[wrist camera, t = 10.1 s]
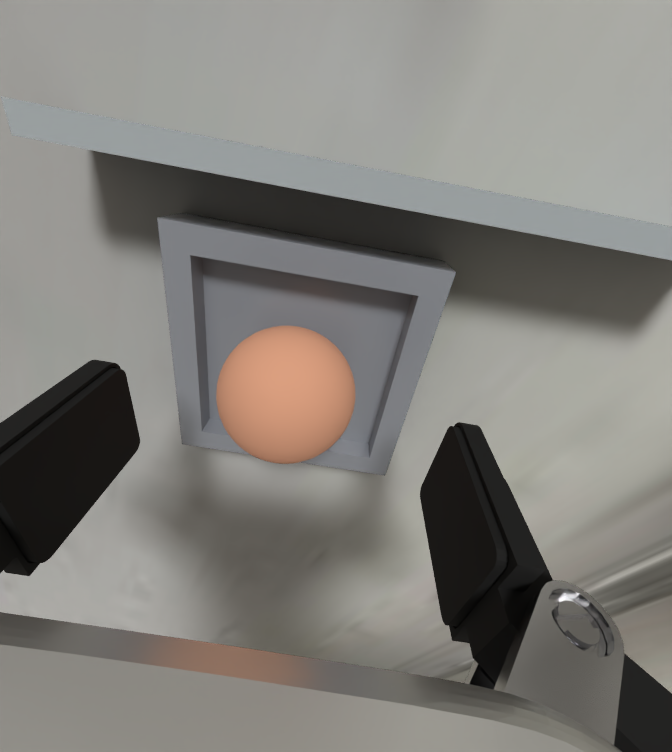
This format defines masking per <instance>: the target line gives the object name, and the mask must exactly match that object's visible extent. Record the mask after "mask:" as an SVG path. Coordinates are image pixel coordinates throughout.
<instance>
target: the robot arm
mask: <svg viewBox="0 0 672 752" xmlns="http://www.w3.org/2000/svg"><path fill="white" fill-rule="evenodd" d="M139 444H140V437H139V433H138V428H137V424H136V419H135V414H134V410H133V405H132V400H131V396H130V391H129V387H128V382H127V377H126V374H125V372H124V370H121V368H120V366H119V365H118V364H116V363H111V362H105V361H99V360H91V361H89V362H88V363H86V364H85V365H83V366H82V367H81V368H79V369H78V370H76V371H75V372H73V373H72V374H70V375H69V376H68V377H66V378H65V379H63V380H62V381H60V382H59V383H58V384H56V385H55V386H53V387H52V388H50V389H49V390H47V391H46V392H45V393H43V394H42V395H40V396H39V397H37V398H36V399H34V400H33V401H32V402H30V403H29V404H27V405H26V406H24V407H23V408H22V409H20V410H19V411H17V412H16V413H14V414H13V415H11V416H10V417H9V418H7V419H6V420H4V421H3V422H1V423H0V573H1V572H2V571H3V570H4V571H5V572H6V573H12V574H19V575H25V576H30V575H31V574H32V572H33V571H34V570H35V569H36V567H37V566H38V565H39V564H40V563H43V562H45V561H47V560H48V559H49V558H50V557H51V556H52V555H53V554H54V553H55V552H56V550H57V549H58V548H59V547H60V545H61V544H62V543H63V542H64V540H65V539H66V538H67V537H68V536H69V534H70V533H71V532H72V531H73V529H74V528H75V527H76V526H77V524H78V523H79V522H80V521H81V519H82V518H83V517H84V516H85V514H86V513H87V512H88V511H89V510H90V508H91V507H92V506H93V505H94V503H95V502H96V501H97V500H98V498H99V497H100V496H101V495H102V493H103V492H104V491H105V490H106V488H107V487H108V486H109V485H110V483H111V482H112V481H113V480H114V479H115V477H116V476H117V475H118V474H119V472H120V471H121V470H122V469H123V467H124V466H125V465H126V464H127V462H128V461H129V460H130V459H131V457H132V456H133V455H134V454H135V453H136V451H137V449H138V447H139ZM420 499H421V504H422V510H423V516H424V521H425V527H426V532H427V538H428V543H429V549H430V555H431V560H432V566H433V571H434V577H435V582H436V588H437V594H438V599H439V605H440V610H441V615H442V619H443V622H444V623H445V625H448V626H449V627H450V632H451V637H452V640H453V641H459V642H466V643H470V647H471V651H472V656H473V659H474V662H473V664H472V667H471V669H470V671H469V673H468V675H467V677H466V679H465V682H464V683H460V682H454V681H449V680H443V679H437V678H431V677H426V676H420V675H414V674H409V673H403V672H397V671H391V670H385V669H378V668H372V667H365V666H359V665H352V664H346V663H339V662H333V661H326V660H320V659H313V658H307V657H300V656H294V655H287V654H281V653H274V652H268V651H261V650H254V649H247V648H241V647H234V646H227V645H221V644H214V643H207V642H201V641H194V640H187V639H180V638H174V637H167V636H160V635H153V634H146V633H140V632H133V631H126V630H119V629H113V628H106V627H99V626H92V625H85V624H78V623H71V622H64V621H57V620H50V619H43V618H36V617H29V616H22V615H15V614H8V613H1V612H0V752H672V694H671V693H670V692H669V691H668V690H667V689H666V688H664V687H663V686H662V685H661V684H660V683H658V682H657V681H656V680H655V679H654V678H653V677H651V676H650V675H649V674H648V673H647V672H646V671H644V670H643V669H642V668H641V667H640V666H638V665H637V664H636V663H635V662H634V661H633V660H631V659H630V658H629V657H628V656H627V655H626V654H624V644H623V640H622V638H621V635H620V632H619V630H618V628H617V626H616V625H615V623H614V621H613V620H612V618H611V617H610V615H609V614H608V613H607V612H606V610H605V609H604V608H603V607H602V606H601V605H600V604H599V602H597V601H596V600H595V599H594V598H593V597H592V596H590V595H589V594H588V593H587V592H585V591H584V590H582V589H580V588H579V587H577V586H576V585H573V584H571V583H568V582H565V581H558V580H552V578H551V575H550V573H549V571H548V569H547V567H546V565H545V563H544V560H543V558H542V556H541V554H540V552H539V550H538V548H537V545H536V543H535V541H534V539H533V537H532V535H531V533H530V530H529V528H528V526H527V524H526V522H525V520H524V518H523V516H522V513H521V511H520V509H519V507H518V505H517V503H516V501H515V498H514V496H513V494H512V492H511V490H510V488H509V486H508V484H507V482H506V480H505V479H504V478H503V475H502V473H501V471H500V469H499V467H498V465H497V463H496V460H495V458H494V456H493V454H492V452H491V450H490V447H489V445H488V443H487V441H486V439H485V437H484V434H483V432H482V430H481V428H480V427H479V426H477V425H471V424H465V423H460V422H459V423H457V424H455V426H454V427H453V426H450V427H449V428H448V430H447V432H446V434H445V436H444V438H443V441H442V443H441V445H440V447H439V449H438V451H437V454H436V456H435V458H434V460H433V462H432V464H431V467H430V469H429V471H428V473H427V475H426V478H425V480H424V482H423V484H422V487H421V491H420Z"/></svg>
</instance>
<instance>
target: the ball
mask: <svg viewBox="0 0 672 752" xmlns="http://www.w3.org/2000/svg"><path fill="white" fill-rule="evenodd" d="M216 401H217V408H218V413H219V416H220V419H221V421H222V423H223V426H224V428H225V430H226V431H227V433H228V434H229V436H230V437H231V438H232V439H233V440H234V442H235V443H236V444H237V445H238V446H239V447H241V448H242V449H243V450H244V451H246V452H247V453H249V454H251V455H253V456H255V457H257V458H259V459H262V460H265V461H268V462H273V463H281V464H289V463H298V462H302V461H306V460H309V459H312V458H314V457H316V456H318V455H320V454H321V453H323V452H325V451H326V450H328V449H329V448H330V447H331V446H332V445H333V444H334V443H335V442H336V441H337V440H338V439H339V438H340V437H341V436H342V434H343V433H344V431H345V430H346V428H347V426H348V424H349V422H350V420H351V417H352V414H353V411H354V405H355V383H354V378H353V374H352V371H351V369H350V366H349V364H348V362H347V360H346V359H345V357H344V356H343V354H342V353H341V351H340V350H339V349H338V348H337V347H336V346H335V345H334V344H333V343H332V342H331V341H330V340H328V339H327V338H325V337H324V336H322V335H321V334H319V333H317V332H315V331H312V330H309V329H306V328H302V327H298V326H276V327H271V328H267V329H263V330H261V331H258V332H256V333H254V334H252V335H251V336H249V337H247V338H246V339H244V340H243V341H242V342H241V343H240V344H238V345H237V346H236V347H235V349H234V350H233V351H232V352H231V353H230V354H229V356H228V358H227V359H226V361H225V363H224V364H223V366H222V369H221V371H220V374H219V378H218V382H217V390H216Z"/></svg>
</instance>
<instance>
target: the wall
mask: <svg viewBox="0 0 672 752" xmlns="http://www.w3.org/2000/svg"><path fill="white" fill-rule="evenodd" d="M1 99H2V102H3V106H4V109H5V113H6V116H7V120H8V123H9V127H10V130H11V134H12V135H13V136H19V137H24V138H29V139H34V140H40V141H45V142H50V143H55V144H61V145H66V146H71V147H77V148H82V149H87V150H92V151H98V152H103V153H108V154H113V155H119V156H124V157H129V158H135V159H140V160H145V161H150V162H156V163H161V164H166V165H171V166H177V167H182V168H187V169H193V170H198V171H203V172H208V173H214V174H219V175H224V176H229V177H235V178H240V179H245V180H251V181H256V182H261V183H266V184H272V185H277V186H282V187H287V188H293V189H298V190H303V191H309V192H314V193H319V194H324V195H330V196H335V197H340V198H345V199H351V200H356V201H361V202H367V203H372V204H377V205H382V206H388V207H393V208H398V209H403V210H409V211H414V212H419V213H425V214H430V215H435V216H440V217H446V218H451V219H456V220H461V221H467V222H472V223H477V224H483V225H488V226H493V227H498V228H504V229H509V230H514V231H519V232H525V233H530V234H535V235H541V236H546V237H551V238H556V239H562V240H567V241H572V242H577V243H583V244H588V245H593V246H599V247H604V248H609V249H614V250H620V251H625V252H630V253H635V254H641V255H646V256H651V257H657V258H662V259H667V260H672V227H671V226H666V225H661V224H655V223H650V222H645V221H640V220H635V219H630V218H624V217H619V216H614V215H609V214H604V213H599V212H594V211H588V210H583V209H578V208H573V207H568V206H563V205H558V204H552V203H547V202H542V201H537V200H532V199H527V198H521V197H516V196H511V195H506V194H501V193H496V192H491V191H485V190H480V189H475V188H470V187H465V186H460V185H455V184H449V183H444V182H439V181H434V180H429V179H424V178H418V177H413V176H408V175H403V174H398V173H393V172H388V171H382V170H377V169H372V168H367V167H362V166H357V165H352V164H346V163H341V162H336V161H331V160H326V159H321V158H315V157H310V156H305V155H300V154H295V153H290V152H285V151H279V150H274V149H269V148H264V147H259V146H254V145H249V144H243V143H238V142H233V141H228V140H223V139H218V138H212V137H207V136H202V135H197V134H192V133H187V132H182V131H176V130H171V129H166V128H161V127H156V126H151V125H146V124H140V123H135V122H130V121H125V120H120V119H115V118H109V117H104V116H99V115H94V114H89V113H84V112H79V111H73V110H68V109H63V108H58V107H53V106H48V105H43V104H37V103H32V102H27V101H22V100H17V99H12V98H6V97H1Z"/></svg>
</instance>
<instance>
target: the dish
mask: <svg viewBox="0 0 672 752" xmlns="http://www.w3.org/2000/svg"><path fill="white" fill-rule="evenodd" d="M157 221H158V230H159V239H160V248H161V257H162V266H163V275H164V284H165V294H166V303H167V312H168V321H169V330H170V339H171V348H172V357H173V366H174V375H175V385H176V394H177V403H178V412H179V421H180V430H181V439H182V444H185V445H192V446H198V447H204V448H211V449H217V450H224V451H230V452H237V453H243V454H249V453H247V452H246V451H244V450H243V449H242V448H241V447H239V446H238V445H237V444H236V443H235V442H234V440H233V439H232V438H231V437H230V436H229V434H228V433H227V431H226V430H225V428H224V426H223V423H222V421H221V419H220V416H219V413H218V408H217V401H216V390H217V382H218V378H219V374H220V371H221V369H222V366H223V364H224V363H225V361H226V359H227V358H228V356H229V354H230V353H231V352H232V351H233V350H234V349H235V347H236V346H237V345H238V344H240V343H241V342H242V341H243V340H244V339H246V338H247V337H249V336H251V335H252V334H254V333H256V332H258V331H261V330H263V329H267V328H271V327H276V326H298V327H302V328H306V329H309V330H312V331H315V332H317V333H319V334H321V335H322V336H324V337H325V338H327V339H328V340H330V341H331V342H332V343H333V344H334V345H335V346H336V347H337V348H338V349H339V350H340V351H341V353H342V354H343V356H344V357H345V359H346V360H347V362H348V364H349V366H350V369H351V371H352V374H353V378H354V383H355V405H354V411H353V414H352V417H351V420H350V422H349V424H348V426H347V428H346V430H345V431H344V433H343V434H342V436H341V437H340V438H339V439H338V440H337V441H336V442H335V443H334V444H333V445H332V446H331V447H330V448H329V449H328V450H326V451H325V452H323V453H321V454H320V455H318V456H316V457H314V458H312V459H309V460H306V461H302V462H301V463H308V464H314V465H321V466H327V467H334V468H340V469H346V470H353V471H359V472H366V473H372V474H379V475H385V474H386V472H387V469H388V466H389V463H390V460H391V457H392V454H393V452H394V449H395V446H396V443H397V440H398V437H399V434H400V432H401V429H402V426H403V423H404V420H405V417H406V414H407V412H408V409H409V406H410V403H411V400H412V397H413V394H414V391H415V389H416V386H417V383H418V380H419V377H420V374H421V371H422V369H423V366H424V363H425V360H426V357H427V354H428V351H429V349H430V346H431V343H432V340H433V337H434V334H435V331H436V329H437V326H438V323H439V320H440V317H441V314H442V311H443V308H444V306H445V303H446V300H447V297H448V294H449V291H450V288H451V286H452V283H453V280H454V277H455V274H456V272H455V271H454V270H453V269H452V268H451V267H450V266H449V265H448V264H446V263H445V262H444V261H441V260H436V259H430V258H425V257H419V256H414V255H408V254H403V253H398V252H392V251H387V250H381V249H376V248H370V247H365V246H360V245H354V244H349V243H343V242H338V241H332V240H327V239H321V238H316V237H311V236H305V235H300V234H294V233H289V232H283V231H278V230H273V229H267V228H262V227H256V226H251V225H245V224H240V223H234V222H229V221H224V220H218V219H213V218H207V217H202V216H196V215H191V214H186V213H179V214H174V215H169V216H163V217H158V218H157ZM250 455H251V454H250Z"/></svg>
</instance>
